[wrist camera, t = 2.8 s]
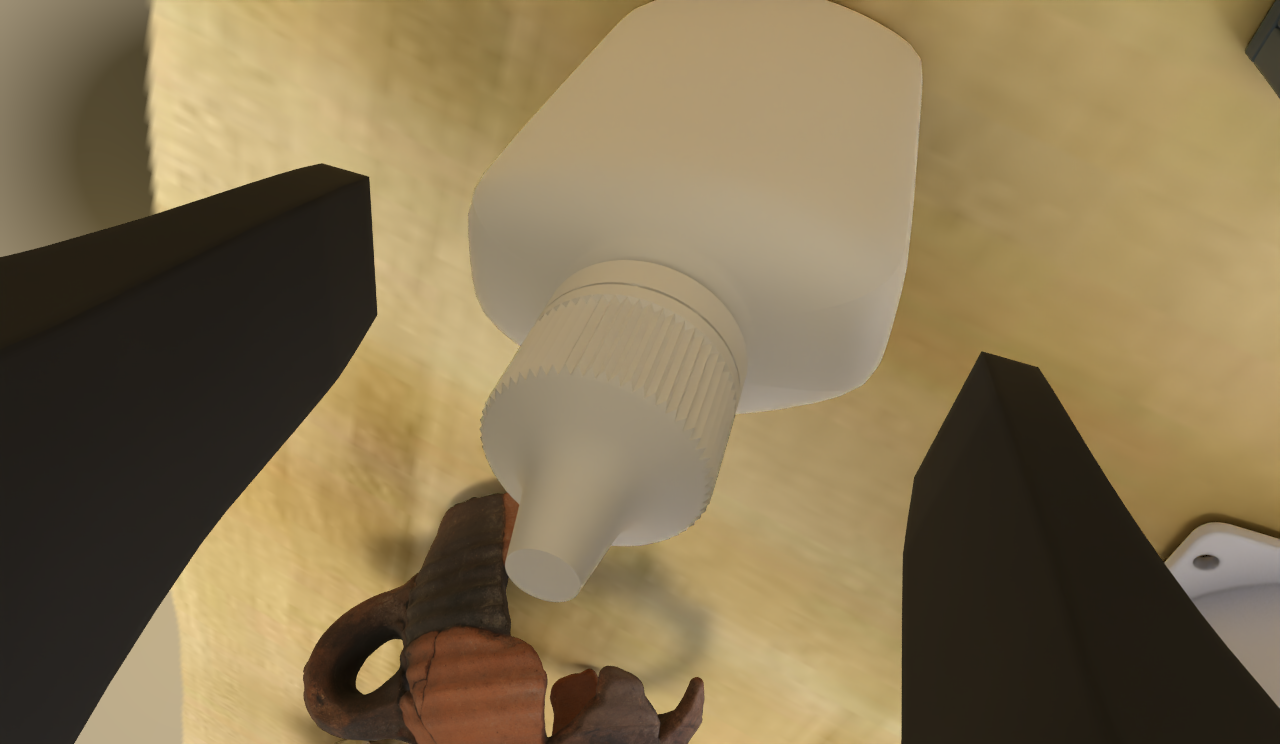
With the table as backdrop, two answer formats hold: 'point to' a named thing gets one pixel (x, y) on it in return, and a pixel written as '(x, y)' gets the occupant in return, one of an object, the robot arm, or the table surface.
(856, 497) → the table surface
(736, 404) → the eye dropper bottle
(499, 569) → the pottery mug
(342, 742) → the ceramic sculpture
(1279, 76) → the tray
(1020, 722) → the robot arm
